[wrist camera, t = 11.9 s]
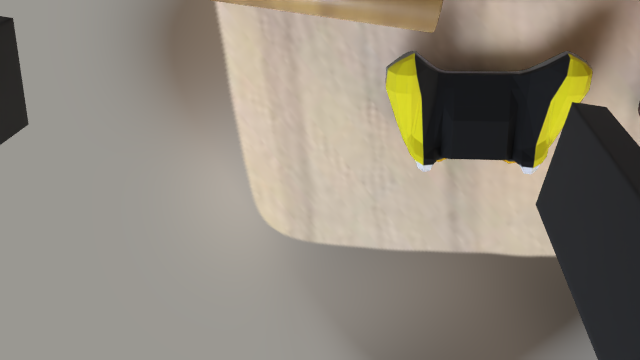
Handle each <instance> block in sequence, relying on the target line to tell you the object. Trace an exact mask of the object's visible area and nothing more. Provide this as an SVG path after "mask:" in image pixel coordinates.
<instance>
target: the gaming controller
mask: <svg viewBox="0 0 640 360" xmlns="http://www.w3.org/2000/svg"><path fill="white" fill-rule="evenodd" d="M592 73H593V72H592V68H591V67H590V65H589V64H588V63H587V62H586V61H585V60H584V59H582V58H581V57H579V56H578V55H576V54H574V53H572V52H569V51H565V52H563V53H561V54H559V55H557V56H555V57H553V58H551V59H548V60H546V61H544V62H542V63H540V64H538V65H535V66H533V67H531V68H529V69H526V70H521V71H512V72H495V71H444V70H441V69H438V68H437V67H435V66H434V65H432V64H431V63H429V62H428V61H427V60H426V59H424V58H423V57H422V56H421V55H419V54H418V53H417V52H416V51H410V52H407V53H405V54H403V55H402V56H401V57H399V58H398V59H396V60H395V61H394V62H392V63H391V64H390V65H388V66H387V67H386V90H387V93H388V96H389V99H390V102H391V106H392V109H393V112H394V115H395V118H396V121H397V124H398V127H399V129H400V132H401V135H402V138H403V140H404V142H405V144H406V146H407V148H408V150H409V153H410V154H411V156H412V157H413V158H414V160H416V164H417V167H418V168H419V169H421V170H422V171H430V169H431V167H432V165H433V164H434V163H435V162H436V161H437V162H440V161H442V160H445V159H447V158H448V159H481V160H503V161H505V162H507V163H518V164H519V165H520V167H521V169H522V171H523V173H525V174H532V173H533V172H535V171H536V170H537V169H538V167H539V165H540V164H541V163H542V162H543V161H544V159H545V158H546V157H547V153H548V148H549V147H550V146H551V144H552V143H553V142H554V140H555V139H556V137H557V135H558V134H559V132H560V131H561V129H562V128H563V126H564V124H565V121H566V118H567V115H568V112H569V110H570V107H571V104H572V102H575V103H580V102H581V101H582V99H583V98H584V97H585V95H586V94H587V92H588V91H589V89H590V84H591V78H592Z"/></svg>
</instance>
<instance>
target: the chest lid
mask: <svg viewBox="0 0 640 360" xmlns="http://www.w3.org/2000/svg"><path fill="white" fill-rule="evenodd" d="M212 1H219V2H226V3H232V4H239V5H246V6H253V7H260V8H267V9H274V10H280V11H287V12H294V13H301V14H308V15H315V16H321V17H328V18H335V19H342V20H349V21H356V22H362V23H369V24H376V25H383V26H390V27H397V28H403V29H410V30H417V31H424V32H431V33H432V32H434V30H435V28H436V26H437V23H438V20H439V16H440V12H441V8H442V3H443V0H212Z"/></svg>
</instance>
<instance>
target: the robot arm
mask: <svg viewBox="0 0 640 360" xmlns="http://www.w3.org/2000/svg"><path fill="white" fill-rule="evenodd" d="M27 125H28V118H27V111H26V104H25V98H24V91H23V84H22V77H21V71H20V63H19V57H18V50H17V43H16V36H15V29H14V22H13V18H8V17H2V16H0V144H2V143H3V142H5V141H6V140H7V139H9V138H10V137H12V136H13V135H14V134H16V133H17V132H19V131H20V130H21V129H23V128H24V127H25V126H27ZM536 206H537V209H538V211H539V214H540V216H541V219H542V221H543V224H544V226H545V229H546V231H547V234H548V236H549V239H550V241H551V244H552V246H553V249H554V251H555V254H556V256H557V259H558V261H559V264H560V266H561V269H562V271H563V274H564V276H565V279H566V281H567V283H568V286H569V289H570V291H571V294H572V296H573V299H574V301H575V304H576V306H577V308H578V311H579V313H580V316H581V318H582V321H583V324H584V326H585V329H586V331H587V334H588V336H589V338H590V341H591V343H592V346H593V348H594V351H595V353H596V356H597V358H598V360H640V147H639V146H638V144H637V143H636V142H635V141H634V140H633V138H632V137H631V136H630V135H629V134H628V132H627V131H626V130H625V129H624V128H623V127H622V125H621V124H620V123H619V122H618V121H617V119H616V118H615V117H614V116H613V115H612V113H611V112H610V111H609V110H608V109H607V107H602V106H595V105H588V104H582V103H575V102H572V104H571V107H570V110H569V112H568V115H567V118H566V121H565V124H564V126H563V129H562V132H561V135H560V138H559V141H558V143H557V146H556V149H555V152H554V155H553V157H552V160H551V163H550V166H549V169H548V171H547V174H546V177H545V180H544V183H543V185H542V188H541V191H540V194H539V197H538V200H537V202H536Z"/></svg>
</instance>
